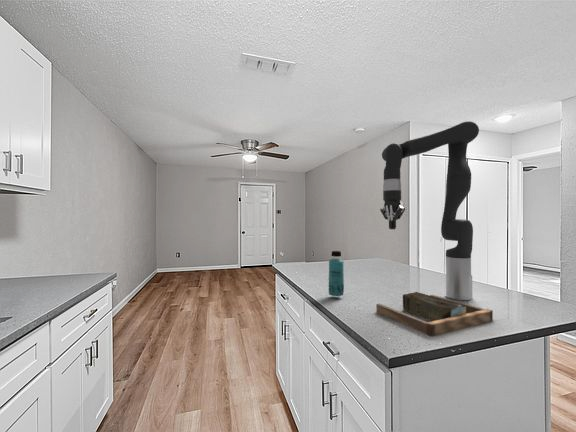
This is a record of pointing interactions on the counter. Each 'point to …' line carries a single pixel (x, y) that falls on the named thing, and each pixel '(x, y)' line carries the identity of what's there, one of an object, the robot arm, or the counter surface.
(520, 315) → the counter surface
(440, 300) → the beverage carton
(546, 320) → the counter surface
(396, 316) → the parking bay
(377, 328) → the counter surface
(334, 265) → the beverage bottle
